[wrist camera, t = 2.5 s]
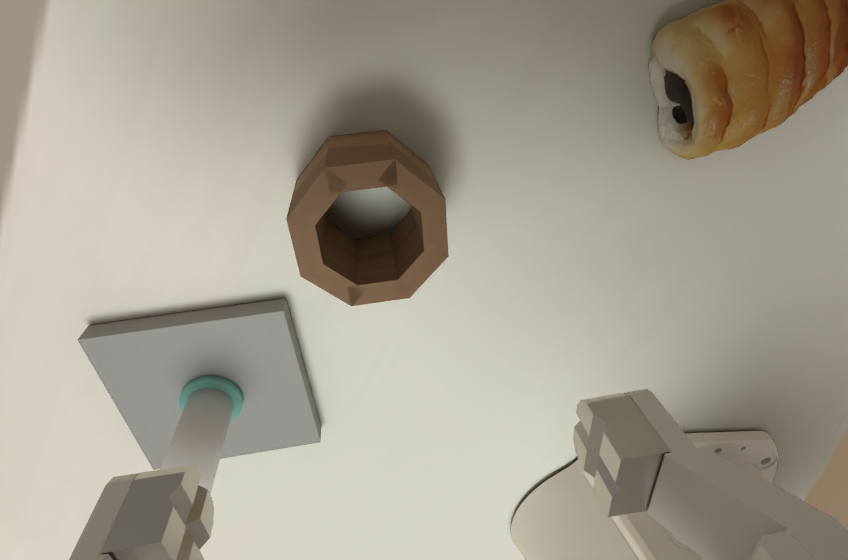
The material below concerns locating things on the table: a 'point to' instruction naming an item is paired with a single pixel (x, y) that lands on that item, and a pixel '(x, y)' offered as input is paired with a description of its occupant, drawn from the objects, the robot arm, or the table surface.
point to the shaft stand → (207, 383)
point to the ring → (376, 256)
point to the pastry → (743, 69)
